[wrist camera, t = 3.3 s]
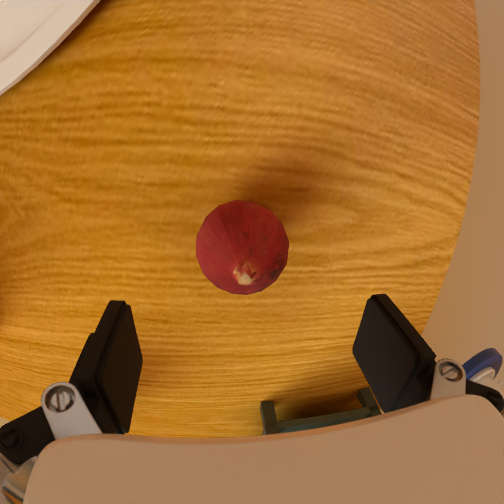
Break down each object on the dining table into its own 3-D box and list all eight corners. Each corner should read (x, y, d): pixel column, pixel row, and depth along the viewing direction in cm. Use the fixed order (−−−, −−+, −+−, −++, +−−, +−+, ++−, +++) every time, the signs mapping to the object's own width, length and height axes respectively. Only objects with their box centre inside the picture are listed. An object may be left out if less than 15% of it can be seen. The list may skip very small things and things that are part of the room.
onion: (290, 211, 22) (326, 256, 15) (254, 273, 24) (270, 338, 16) (220, 176, 20) (221, 205, 13) (187, 244, 22) (174, 303, 15)
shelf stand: (368, 387, 32) (398, 447, 23) (344, 433, 37) (363, 484, 28) (260, 401, 31) (273, 475, 22) (255, 446, 36) (263, 504, 27)
